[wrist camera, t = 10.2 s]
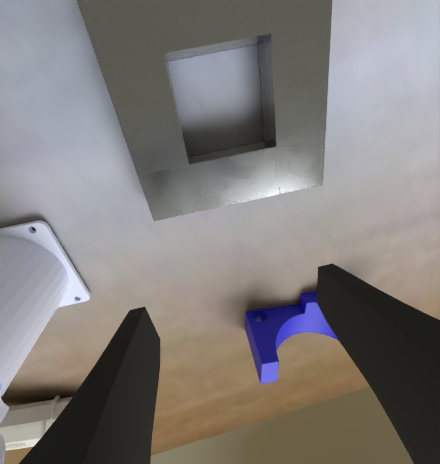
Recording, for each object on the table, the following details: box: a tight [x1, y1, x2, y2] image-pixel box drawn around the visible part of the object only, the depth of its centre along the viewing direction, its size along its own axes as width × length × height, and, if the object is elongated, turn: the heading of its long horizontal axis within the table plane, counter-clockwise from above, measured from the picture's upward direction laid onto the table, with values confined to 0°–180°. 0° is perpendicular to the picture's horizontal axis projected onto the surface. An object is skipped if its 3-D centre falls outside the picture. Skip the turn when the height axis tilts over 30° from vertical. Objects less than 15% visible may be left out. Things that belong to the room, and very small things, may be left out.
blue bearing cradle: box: [246, 292, 338, 384], centre depth 24 cm, size 12×4×6 cm, turn 93°
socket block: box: [77, 0, 332, 221], centre depth 14 cm, size 12×12×2 cm
